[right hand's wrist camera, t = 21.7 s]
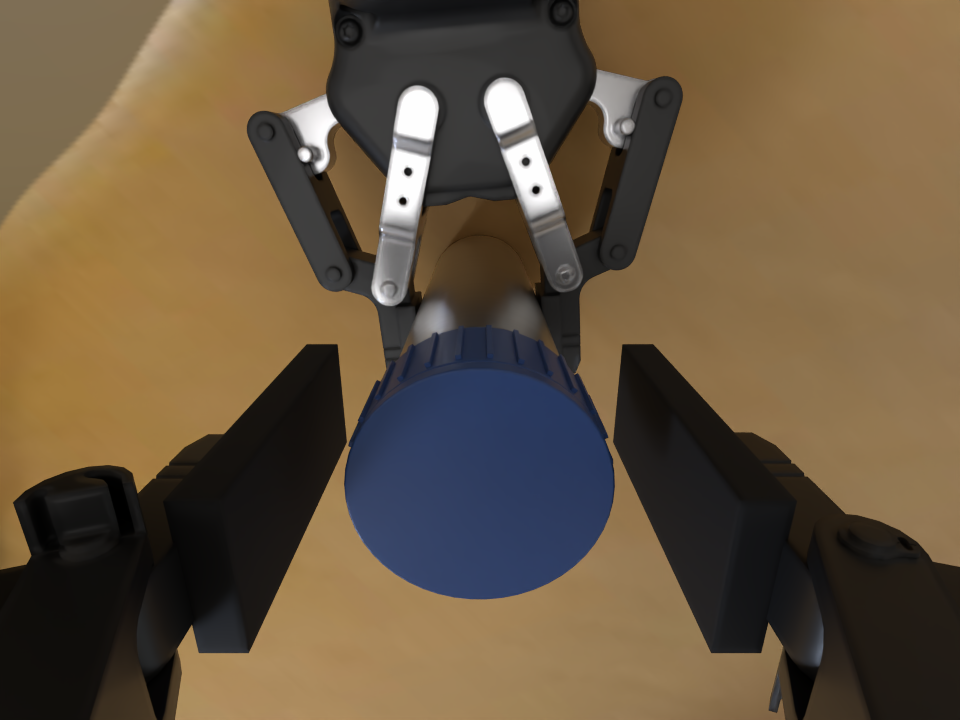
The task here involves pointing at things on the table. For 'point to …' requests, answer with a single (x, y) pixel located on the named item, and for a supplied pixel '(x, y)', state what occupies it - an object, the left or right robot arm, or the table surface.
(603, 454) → the lid
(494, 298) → the bottle
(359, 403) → the table surface
